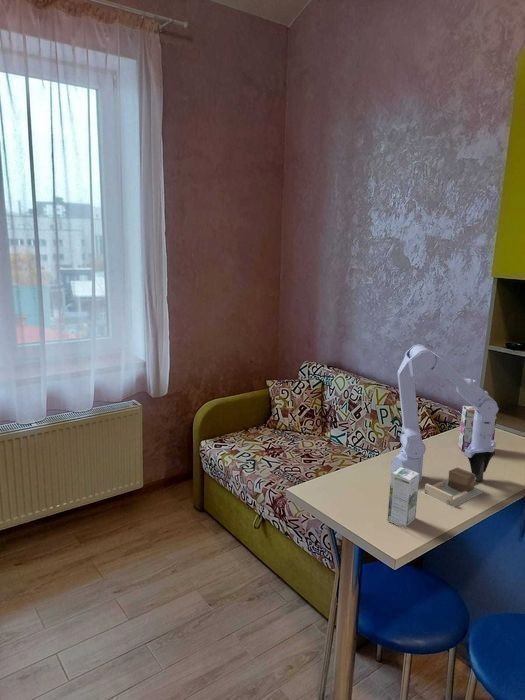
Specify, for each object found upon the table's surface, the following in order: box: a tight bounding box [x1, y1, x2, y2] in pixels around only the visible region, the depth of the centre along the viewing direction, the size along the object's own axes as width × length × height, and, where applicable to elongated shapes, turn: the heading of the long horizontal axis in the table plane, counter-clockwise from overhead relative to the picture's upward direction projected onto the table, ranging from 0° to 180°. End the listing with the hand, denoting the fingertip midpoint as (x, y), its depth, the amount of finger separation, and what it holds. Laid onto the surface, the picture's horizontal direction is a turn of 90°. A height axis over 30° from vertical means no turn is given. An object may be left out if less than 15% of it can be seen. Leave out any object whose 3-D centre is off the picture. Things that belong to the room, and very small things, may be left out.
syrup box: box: [387, 467, 420, 529], centre depth 133 cm, size 6×6×14 cm
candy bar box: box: [457, 405, 498, 452], centre depth 180 cm, size 11×5×16 cm, turn 84°
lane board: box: [420, 479, 484, 509], centre depth 149 cm, size 16×11×4 cm
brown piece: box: [447, 461, 485, 492], centre depth 153 cm, size 13×6×6 cm, turn 125°
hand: (478, 472), depth 156 cm, fingers closed on brown piece, 3 cm apart
